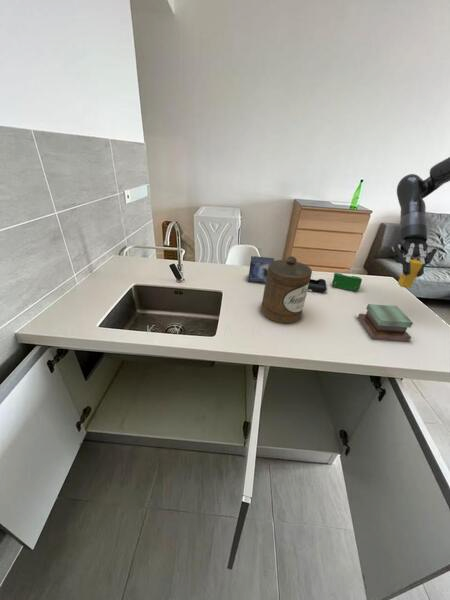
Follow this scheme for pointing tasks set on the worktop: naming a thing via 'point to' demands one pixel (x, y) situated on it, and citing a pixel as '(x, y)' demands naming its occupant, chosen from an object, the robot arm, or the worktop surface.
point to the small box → (259, 269)
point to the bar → (409, 279)
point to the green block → (346, 282)
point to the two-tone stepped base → (386, 323)
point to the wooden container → (285, 290)
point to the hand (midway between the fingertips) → (413, 275)
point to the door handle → (317, 285)
